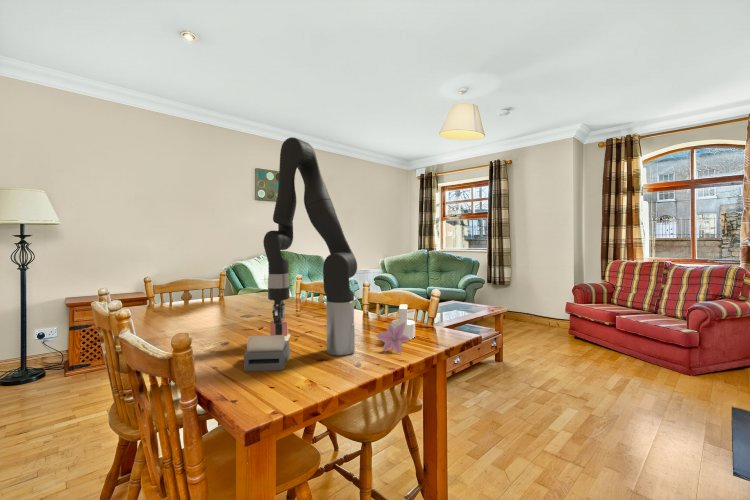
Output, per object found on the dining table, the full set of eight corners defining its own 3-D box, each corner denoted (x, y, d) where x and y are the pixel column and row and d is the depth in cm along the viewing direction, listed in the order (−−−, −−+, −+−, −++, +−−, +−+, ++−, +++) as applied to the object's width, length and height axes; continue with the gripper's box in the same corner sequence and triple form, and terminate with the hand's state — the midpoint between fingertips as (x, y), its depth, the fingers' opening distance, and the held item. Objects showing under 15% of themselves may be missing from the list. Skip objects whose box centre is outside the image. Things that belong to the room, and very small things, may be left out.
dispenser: (290, 354, 116) (289, 326, 116) (283, 369, 102) (283, 339, 102) (255, 355, 115) (255, 327, 114) (244, 371, 101) (243, 340, 100)
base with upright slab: (392, 334, 140) (392, 304, 139) (414, 334, 139) (415, 304, 138) (390, 340, 131) (390, 308, 130) (415, 341, 130) (415, 309, 130)
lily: (373, 349, 123) (370, 331, 119) (395, 333, 129) (393, 315, 125) (395, 367, 116) (394, 348, 112) (417, 348, 122) (416, 330, 117)
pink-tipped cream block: (290, 335, 129) (290, 320, 129) (281, 353, 109) (281, 335, 109) (269, 336, 128) (269, 321, 128) (256, 354, 108) (256, 336, 108)
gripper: (286, 288, 121) (287, 338, 121) (291, 283, 134) (292, 328, 135) (264, 288, 120) (264, 339, 120) (271, 283, 134) (272, 329, 134)
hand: (279, 333), depth 128 cm, fingers closed on pink-tipped cream block, 2 cm apart
